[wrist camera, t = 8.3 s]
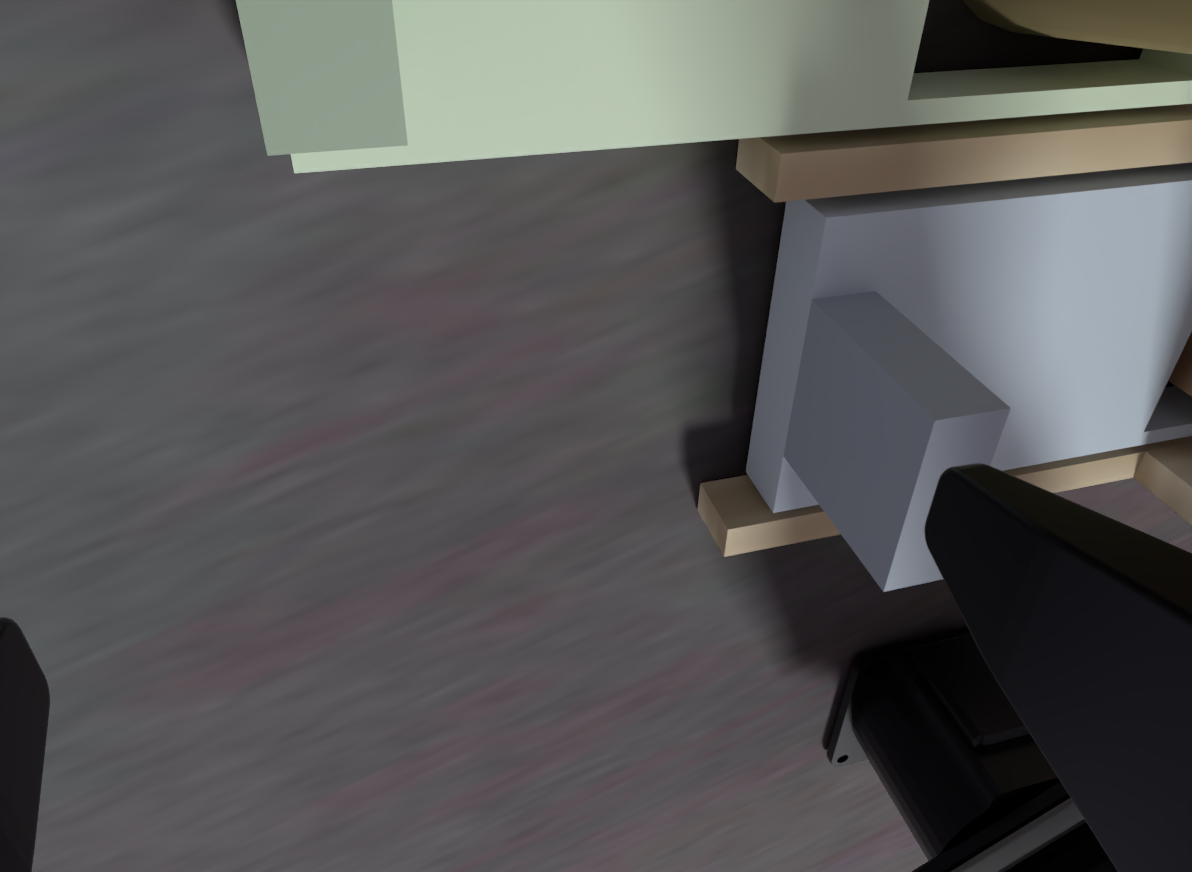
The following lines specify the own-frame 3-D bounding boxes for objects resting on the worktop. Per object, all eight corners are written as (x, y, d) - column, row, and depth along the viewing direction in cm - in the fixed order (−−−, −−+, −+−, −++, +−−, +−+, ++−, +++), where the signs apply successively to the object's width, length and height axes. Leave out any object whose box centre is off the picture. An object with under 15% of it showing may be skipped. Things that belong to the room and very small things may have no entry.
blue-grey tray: (1299, 376, 29) (1513, 502, 24) (745, 471, 25) (865, 651, 20) (1444, 126, 24) (1751, 217, 19) (788, 186, 20) (962, 328, 15)
